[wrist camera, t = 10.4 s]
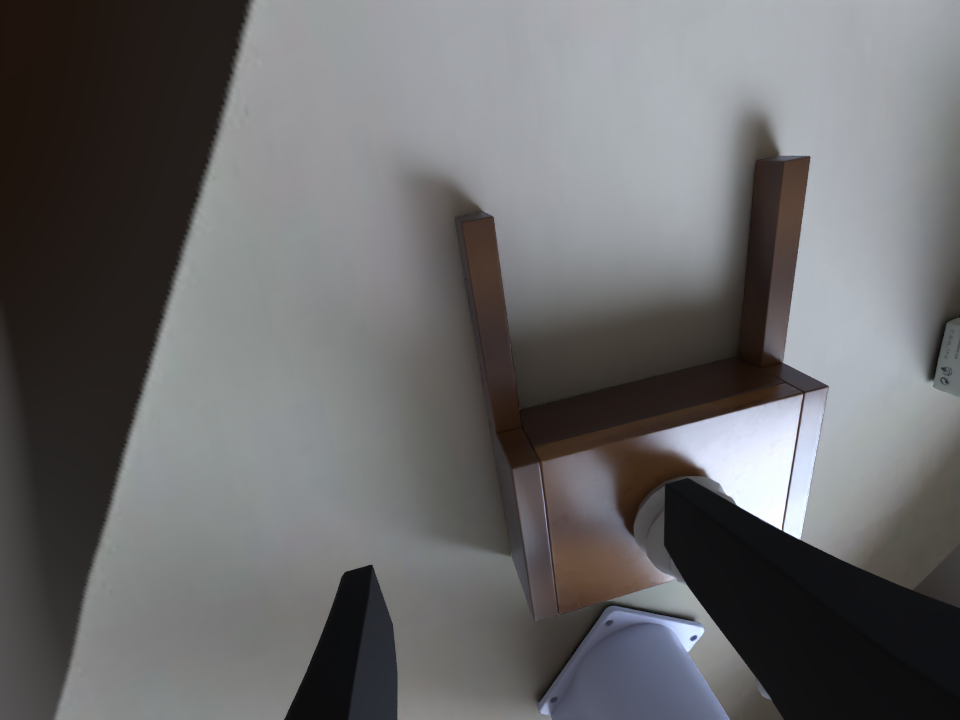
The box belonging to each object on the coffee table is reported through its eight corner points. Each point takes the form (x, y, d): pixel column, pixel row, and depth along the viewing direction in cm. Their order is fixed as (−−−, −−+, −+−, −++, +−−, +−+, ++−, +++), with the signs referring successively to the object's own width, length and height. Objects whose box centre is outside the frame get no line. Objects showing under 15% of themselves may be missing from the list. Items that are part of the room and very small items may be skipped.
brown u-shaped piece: (454, 217, 18) (474, 232, 14) (781, 155, 20) (872, 156, 16) (511, 557, 26) (534, 623, 22) (744, 491, 27) (800, 542, 24)
